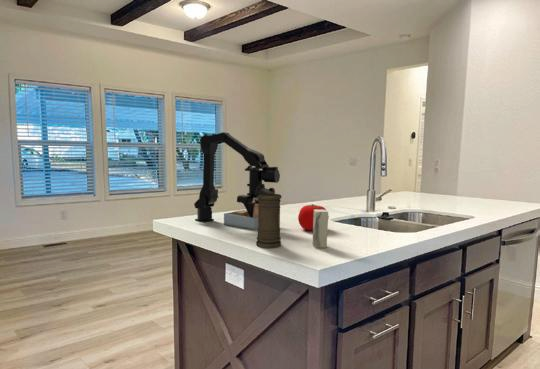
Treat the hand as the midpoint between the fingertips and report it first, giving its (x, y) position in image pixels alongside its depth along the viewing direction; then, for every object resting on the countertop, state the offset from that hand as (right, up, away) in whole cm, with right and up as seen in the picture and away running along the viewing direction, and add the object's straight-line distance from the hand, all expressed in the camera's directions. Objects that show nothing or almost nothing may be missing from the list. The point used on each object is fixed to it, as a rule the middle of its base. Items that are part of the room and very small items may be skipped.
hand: (255, 216), depth 166 cm
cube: (-6, -3, +5) cm, 9 cm away
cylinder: (0, -2, 0) cm, 2 cm away
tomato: (+25, -5, -5) cm, 26 cm away
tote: (-3, -4, +3) cm, 6 cm away
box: (+24, -8, -33) cm, 41 cm away
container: (+6, -7, -32) cm, 33 cm away
